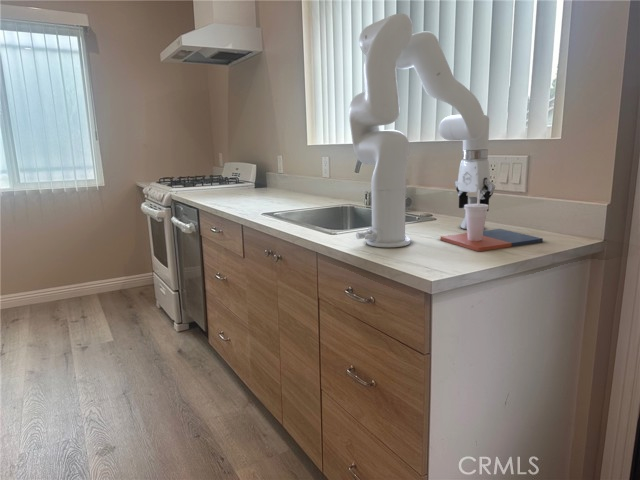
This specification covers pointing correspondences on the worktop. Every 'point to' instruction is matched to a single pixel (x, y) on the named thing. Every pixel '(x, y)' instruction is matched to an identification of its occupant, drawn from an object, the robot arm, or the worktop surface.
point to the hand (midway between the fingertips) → (473, 209)
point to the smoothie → (475, 219)
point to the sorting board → (492, 240)
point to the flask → (472, 201)
